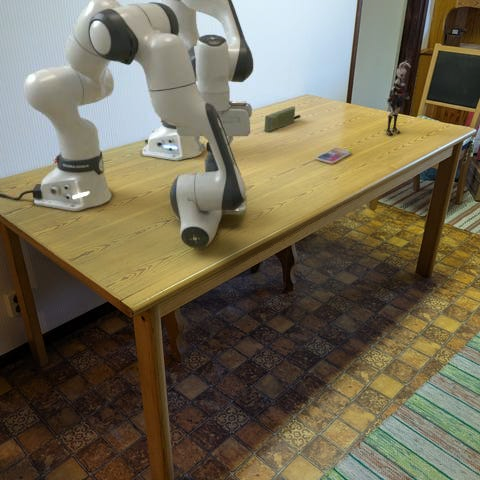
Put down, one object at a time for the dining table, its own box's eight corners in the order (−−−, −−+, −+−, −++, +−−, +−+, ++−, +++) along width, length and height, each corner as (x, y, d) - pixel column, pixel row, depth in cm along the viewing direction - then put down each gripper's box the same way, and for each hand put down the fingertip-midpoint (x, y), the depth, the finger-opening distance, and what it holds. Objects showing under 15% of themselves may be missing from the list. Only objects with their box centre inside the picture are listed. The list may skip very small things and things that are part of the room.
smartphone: (352, 151, 191) (332, 162, 181) (352, 154, 191) (332, 165, 181) (335, 147, 195) (315, 157, 185) (335, 149, 195) (314, 159, 185)
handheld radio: (263, 130, 215) (295, 118, 232) (269, 132, 213) (301, 119, 230) (264, 115, 212) (297, 103, 229) (270, 117, 210) (303, 105, 227)
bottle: (204, 209, 148) (203, 148, 139) (207, 202, 153) (205, 142, 144) (222, 210, 148) (222, 149, 139) (224, 203, 153) (224, 143, 143)
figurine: (387, 138, 208) (399, 62, 194) (375, 134, 212) (386, 59, 197) (406, 131, 217) (419, 57, 202) (394, 128, 221) (406, 55, 206)
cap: (208, 153, 140) (208, 146, 139) (204, 148, 143) (204, 141, 142) (223, 151, 141) (223, 144, 140) (219, 147, 144) (218, 140, 143)
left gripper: (244, 202, 134) (250, 181, 146) (169, 197, 136) (180, 177, 148) (244, 223, 137) (249, 201, 149) (170, 218, 139) (181, 197, 151)
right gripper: (251, 98, 138) (250, 147, 145) (176, 98, 138) (178, 146, 144) (252, 104, 133) (251, 154, 139) (174, 103, 132) (176, 154, 139)
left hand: (214, 189), depth 149 cm, fingers closed on bottle, 5 cm apart
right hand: (213, 150), depth 142 cm, fingers open, 6 cm apart
